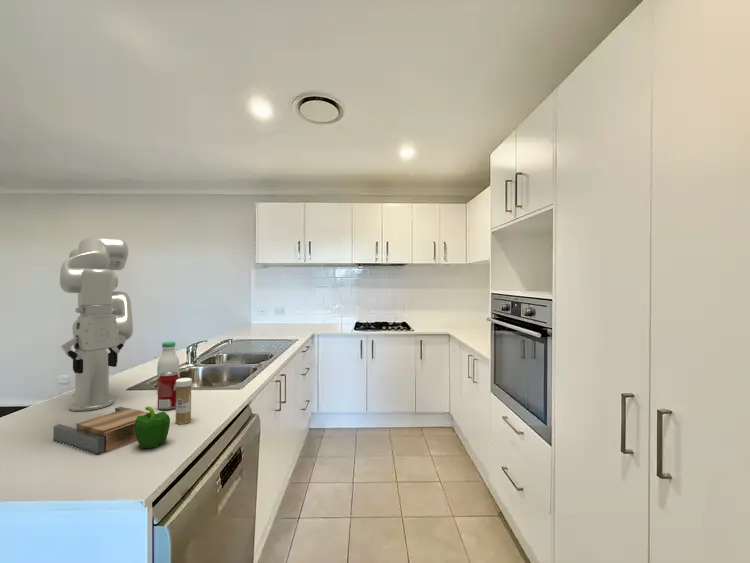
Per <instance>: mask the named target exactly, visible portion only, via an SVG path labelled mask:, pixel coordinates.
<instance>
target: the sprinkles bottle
mask: <svg viewBox="0 0 750 563" xmlns="http://www.w3.org/2000/svg"><path fill="white" fill-rule="evenodd" d="M192 385H193V379H192V378H191V377H180V379H177V380H176V408H175V422H174V423H175V424H178V425H183V424H188V423H190V422H191V421H192Z"/></svg>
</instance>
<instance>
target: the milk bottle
mask: <svg viewBox="0 0 750 563" xmlns="http://www.w3.org/2000/svg"><path fill="white" fill-rule="evenodd" d="M175 348H176V341H164V342H162V343H161V349H162V352H161V355H160V356H159V359H158V362H157V366H156V367H157V373H156V374H157V375H156V381H157V382H156V393H157V394H158V379H159V377H160V374H161V373H164V372H178V376H179V377H180V360H179V357H178V354H176V349H175Z"/></svg>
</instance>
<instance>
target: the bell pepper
mask: <svg viewBox="0 0 750 563" xmlns="http://www.w3.org/2000/svg"><path fill="white" fill-rule="evenodd" d="M144 409H145V411H147V412H148V411H149V412H148V413H147V414H145V415H142V416H138V417H137V419H136V421H135V424H134V430H135V435H136V438H137V440H136V441H137V444H138V445H139V446H140V447H141V448H143V449H151V448H155V447H157V446H159V445H161V444H163V443H165V442H166V440H167V438H168V434H169V431H170V427H171V418H170V416H169V414H168V413H166V411H160V412H157V413H155V409H154V408H153V407H151V406H146V407H144Z"/></svg>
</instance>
